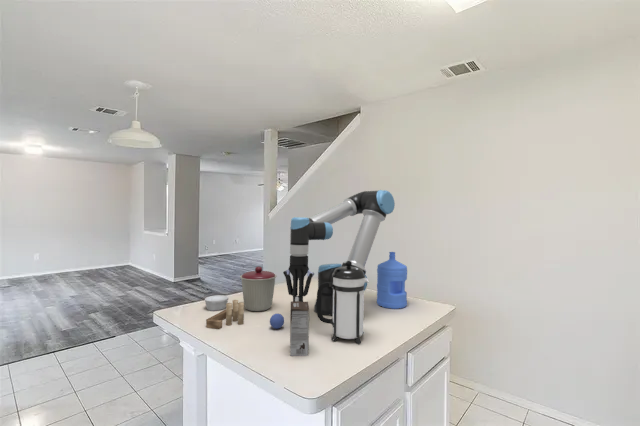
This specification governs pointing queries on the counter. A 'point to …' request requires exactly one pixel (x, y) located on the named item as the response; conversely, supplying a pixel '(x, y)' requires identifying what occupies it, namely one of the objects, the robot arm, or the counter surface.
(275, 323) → the ball
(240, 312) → the pin front
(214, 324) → the rail
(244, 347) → the counter surface
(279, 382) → the counter surface
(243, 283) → the canister
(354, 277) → the coffee press
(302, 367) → the counter surface
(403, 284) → the water jug
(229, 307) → the pin
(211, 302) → the ramekin
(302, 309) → the coffee box
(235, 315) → the pin
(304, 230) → the robot arm
